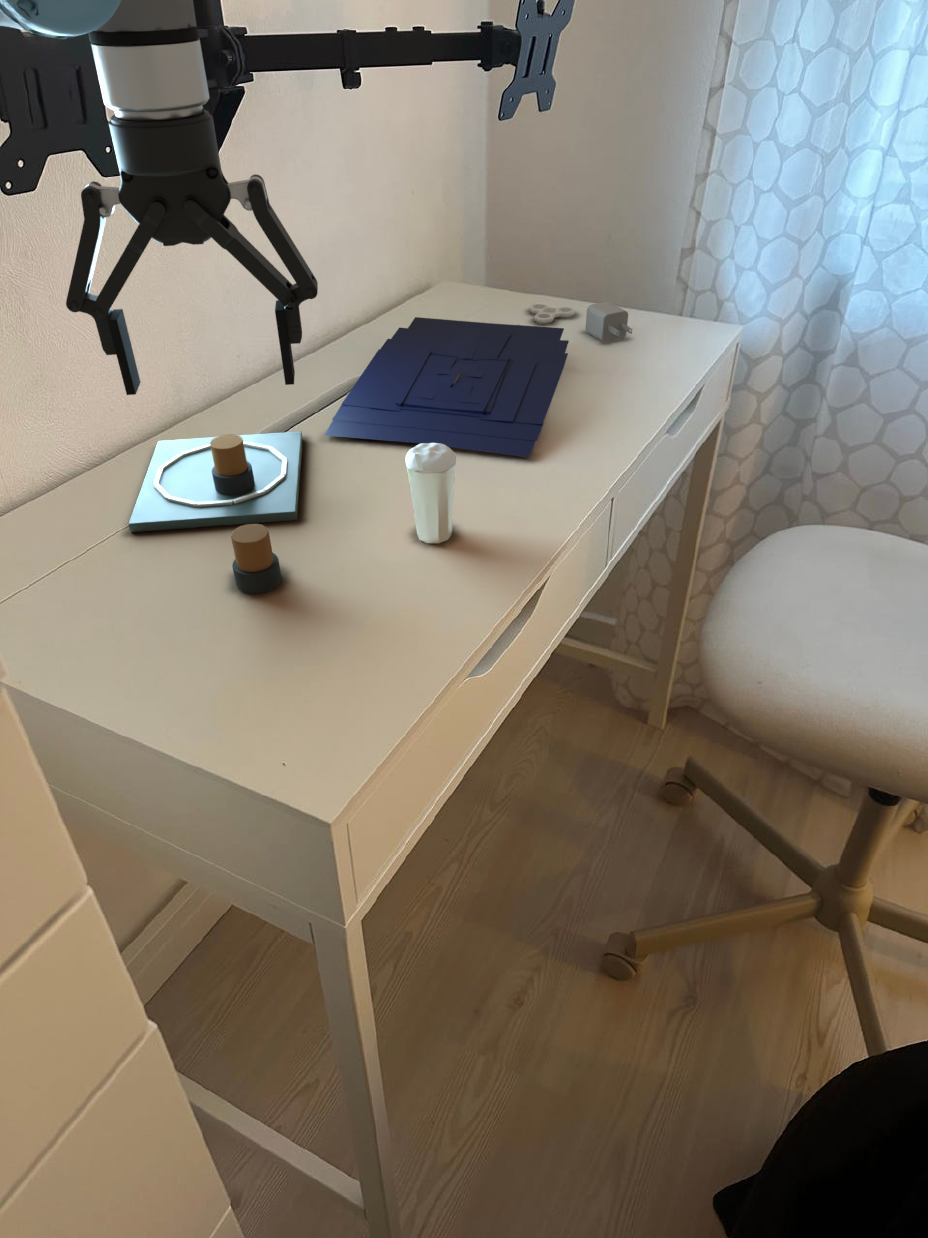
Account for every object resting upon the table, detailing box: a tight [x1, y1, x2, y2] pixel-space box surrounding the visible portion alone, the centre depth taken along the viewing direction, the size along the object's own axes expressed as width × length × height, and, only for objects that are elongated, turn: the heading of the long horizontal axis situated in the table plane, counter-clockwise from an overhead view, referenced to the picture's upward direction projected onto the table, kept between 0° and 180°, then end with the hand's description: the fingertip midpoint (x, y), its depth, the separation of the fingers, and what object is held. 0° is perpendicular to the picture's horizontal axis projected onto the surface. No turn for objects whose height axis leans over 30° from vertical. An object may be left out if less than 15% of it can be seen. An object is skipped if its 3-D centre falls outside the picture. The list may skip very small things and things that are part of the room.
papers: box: [324, 316, 570, 458], centre depth 110 cm, size 24×30×4 cm
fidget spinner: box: [528, 303, 576, 324], centre depth 132 cm, size 7×6×1 cm
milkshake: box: [404, 443, 457, 544], centre depth 82 cm, size 4×5×10 cm
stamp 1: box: [210, 434, 255, 496], centre depth 90 cm, size 4×4×5 cm
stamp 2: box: [230, 523, 282, 595], centre depth 78 cm, size 4×4×5 cm
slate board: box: [128, 430, 303, 533], centre depth 94 cm, size 16×18×1 cm
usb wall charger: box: [585, 301, 633, 344], centre depth 124 cm, size 4×7×4 cm, turn 25°
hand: (212, 384), depth 79 cm, fingers open, 13 cm apart
